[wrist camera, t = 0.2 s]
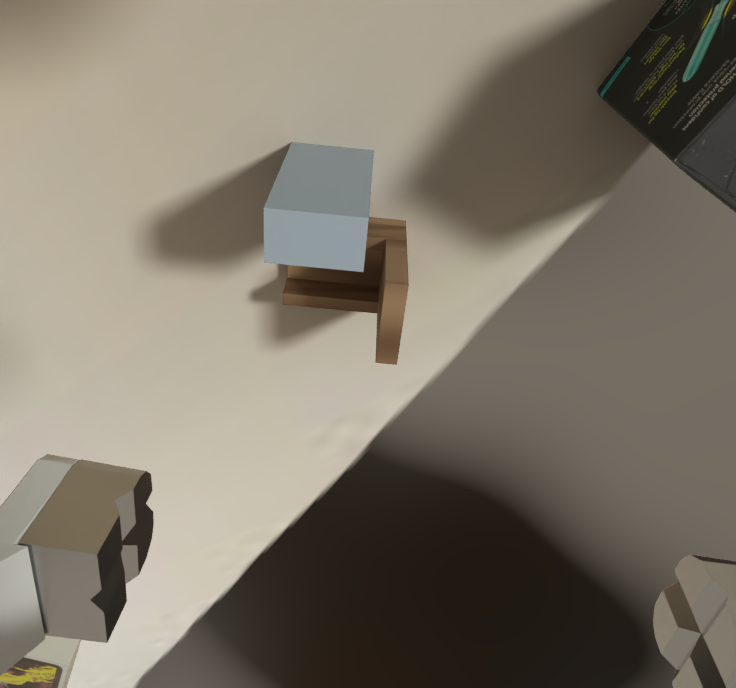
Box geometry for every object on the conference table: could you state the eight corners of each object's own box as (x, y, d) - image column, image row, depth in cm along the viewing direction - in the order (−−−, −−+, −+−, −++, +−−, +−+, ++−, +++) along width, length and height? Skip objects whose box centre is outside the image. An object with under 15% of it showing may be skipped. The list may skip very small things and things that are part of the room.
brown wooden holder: (290, 209, 48) (269, 271, 40) (405, 220, 48) (408, 284, 40) (288, 282, 52) (269, 352, 43) (395, 292, 52) (396, 364, 44)
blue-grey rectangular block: (291, 142, 45) (263, 207, 35) (373, 150, 45) (368, 218, 35) (290, 188, 47) (263, 262, 37) (369, 196, 47) (363, 272, 37)
